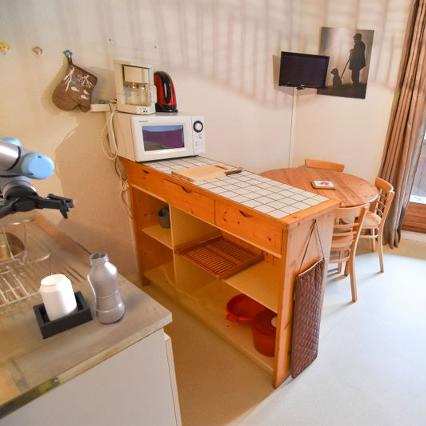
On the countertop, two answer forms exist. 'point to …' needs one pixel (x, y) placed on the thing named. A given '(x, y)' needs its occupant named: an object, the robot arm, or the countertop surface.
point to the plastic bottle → (105, 288)
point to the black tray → (65, 322)
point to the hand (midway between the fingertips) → (32, 220)
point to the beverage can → (58, 296)
